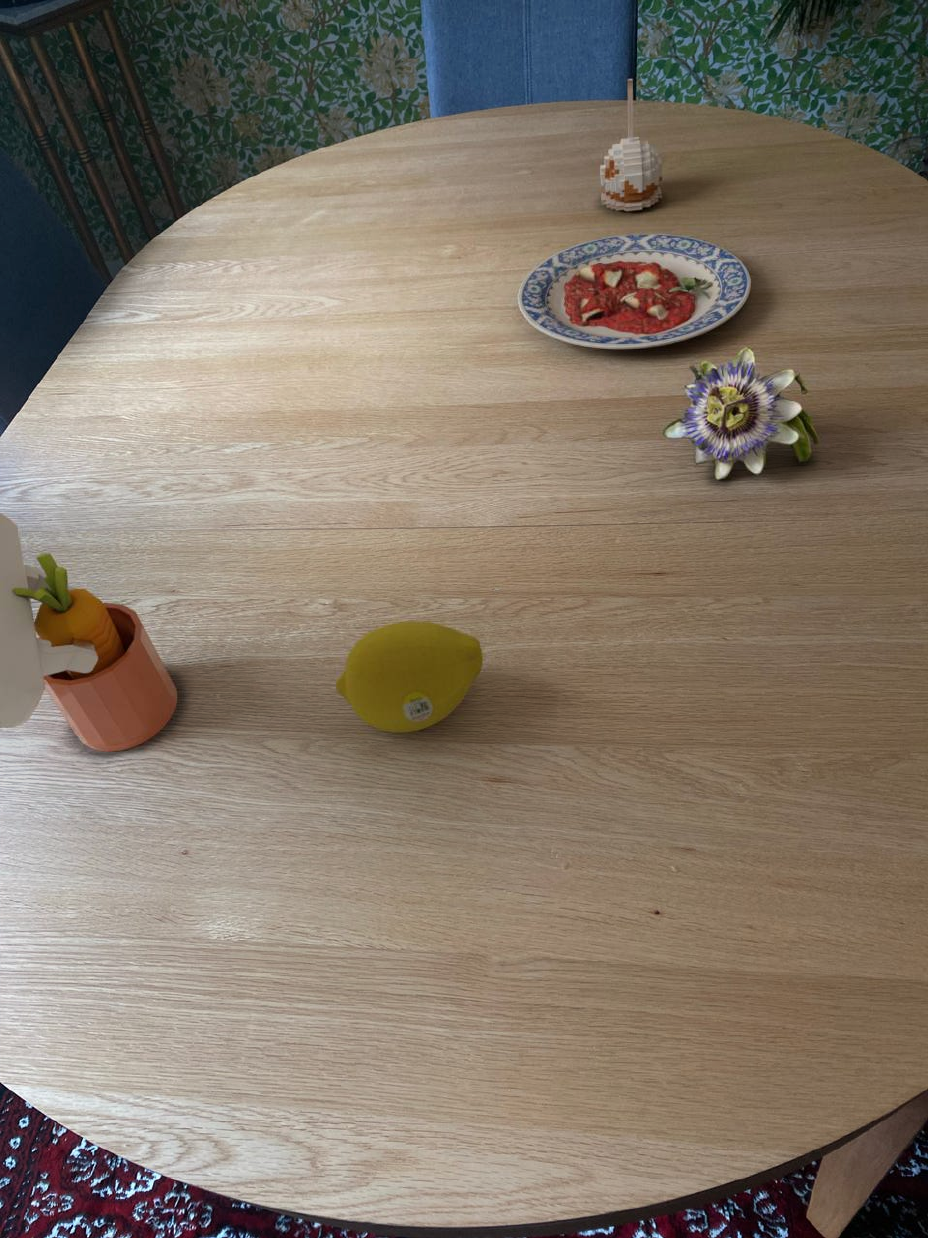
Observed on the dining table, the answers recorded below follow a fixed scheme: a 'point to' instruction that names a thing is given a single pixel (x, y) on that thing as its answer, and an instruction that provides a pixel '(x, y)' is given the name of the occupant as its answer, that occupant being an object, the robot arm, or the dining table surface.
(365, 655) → the lemon
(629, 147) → the decorative ornament
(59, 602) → the carrot
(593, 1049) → the dining table surface
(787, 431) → the passion flower
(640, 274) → the ceramic plate
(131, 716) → the pot
